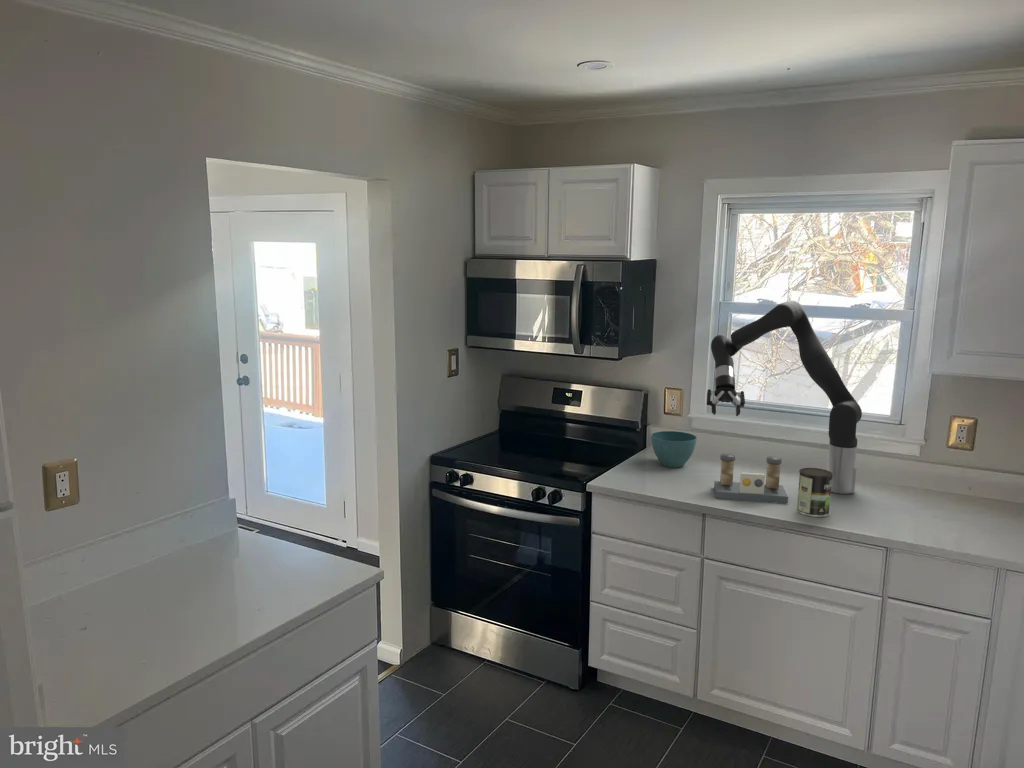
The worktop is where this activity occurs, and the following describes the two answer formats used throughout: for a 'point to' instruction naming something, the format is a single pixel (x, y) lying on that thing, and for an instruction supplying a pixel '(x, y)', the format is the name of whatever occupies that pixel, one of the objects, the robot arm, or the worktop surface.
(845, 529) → the worktop surface
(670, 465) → the teal round bowl
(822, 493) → the coffee can
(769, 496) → the slider board
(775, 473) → the near knob
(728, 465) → the far knob
